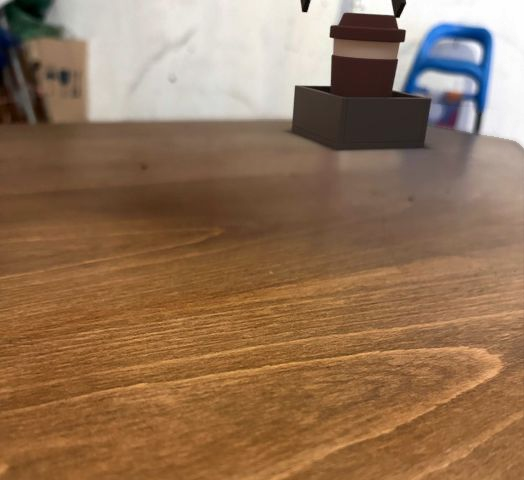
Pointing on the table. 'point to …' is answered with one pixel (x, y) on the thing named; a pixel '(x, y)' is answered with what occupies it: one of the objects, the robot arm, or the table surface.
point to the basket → (360, 119)
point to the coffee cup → (365, 55)
